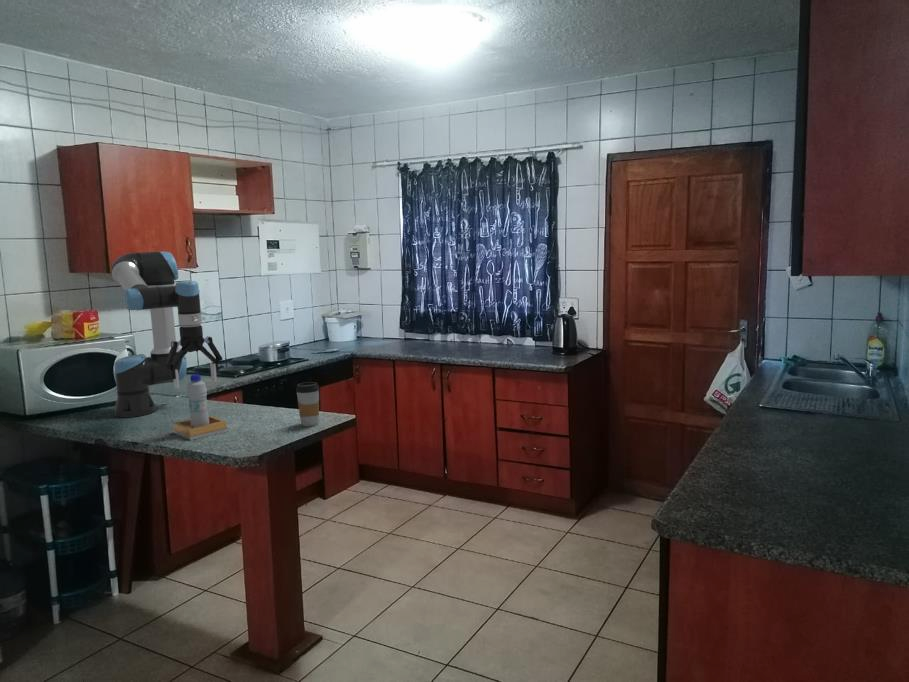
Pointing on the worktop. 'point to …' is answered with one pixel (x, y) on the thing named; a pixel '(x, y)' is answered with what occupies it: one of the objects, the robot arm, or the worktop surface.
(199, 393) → the bottle
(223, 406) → the worktop surface
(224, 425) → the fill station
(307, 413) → the coffee cup
